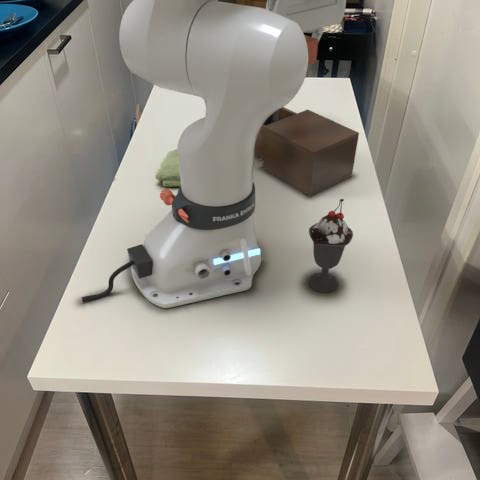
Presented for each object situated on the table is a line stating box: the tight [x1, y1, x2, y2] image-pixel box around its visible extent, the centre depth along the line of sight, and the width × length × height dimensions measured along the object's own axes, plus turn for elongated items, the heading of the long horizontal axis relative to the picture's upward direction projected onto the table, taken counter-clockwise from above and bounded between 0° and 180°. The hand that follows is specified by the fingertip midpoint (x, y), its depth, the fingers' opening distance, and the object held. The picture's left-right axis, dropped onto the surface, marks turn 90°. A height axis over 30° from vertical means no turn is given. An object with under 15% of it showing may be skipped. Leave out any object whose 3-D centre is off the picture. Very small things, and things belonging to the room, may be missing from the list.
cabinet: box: [262, 109, 360, 197], centre depth 104 cm, size 15×13×10 cm
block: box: [304, 34, 319, 66], centre depth 106 cm, size 4×4×4 cm
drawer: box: [254, 106, 297, 160], centre depth 110 cm, size 18×11×8 cm, turn 39°
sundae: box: [308, 198, 354, 293], centre depth 77 cm, size 7×7×15 cm
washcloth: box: [155, 149, 181, 188], centre depth 106 cm, size 13×18×3 cm
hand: (302, 53), depth 107 cm, fingers closed on block, 4 cm apart
